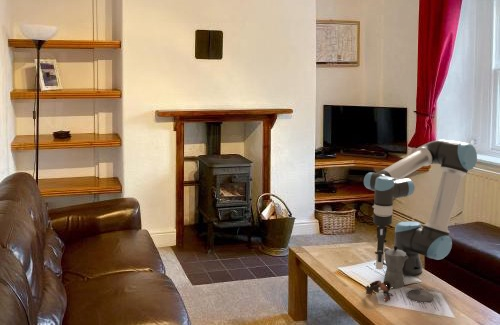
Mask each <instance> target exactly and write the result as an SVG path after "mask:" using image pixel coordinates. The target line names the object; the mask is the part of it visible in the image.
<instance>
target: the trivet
mask: <svg viewBox="0 0 500 325" xmlns="http://www.w3.org/2000/svg"><path fill="white" fill-rule="evenodd" d="M406 297H407V299H409V300H410V299H411V301H413V302H415V301H417V302H416V303H421V302H423V303H424V302H428V303H431V301H432V302H433V301H434V300H435V294H433V293H432V292H430V291H429V290H428V291H427V290H425V289H417V288H415V289H410V290H407V292H406ZM424 304H425V303H424Z"/></svg>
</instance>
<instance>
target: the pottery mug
mask: <svg viewBox="0 0 500 325" xmlns="http://www.w3.org/2000/svg"><path fill="white" fill-rule="evenodd" d="M386 285H387V286H386ZM391 289H392V288H391V284H390V282H388V281H385V282H384V281H383V282H382V281H381V280H375V281H372V282H371V283H369V285H366V286H365V290H366V291H365V294H366V295H370V296H373V293H377V294H380V290H381V291H383V294H385V296H384V297H383V299H384V303H387V302H389V301H390V299H391V295H390V290H391Z"/></svg>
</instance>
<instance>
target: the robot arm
mask: <svg viewBox="0 0 500 325" xmlns="http://www.w3.org/2000/svg"><path fill="white" fill-rule="evenodd" d="M477 160H478V155H477V150H476V148H475V147H474V145H473V144H471V143H468V142H464V141H456V140H449V139H436V140H433V141H430V142H427V143H424V144H422V145H420V146H418V147H417V148H416V149H415V151H414V152H412V153H411V154H409V155H407V156H405V157H404V158H402V159H400V160H398V161H396V162H394V163H393V164H391V165H388V167H386V168H384V169H382V170H380V171H378V172H368V173H366V174H365V176H364V178H363V185H364V187H365V188H366V189H368V190H370V191H374V197H373V198H374V201H373V203H374V204H373V205H372V206H371V207H372V208H373V215H372V217H373V218H372V222H373V224H374V225H378V226H377V227H376V239H377V248H376V251H375V252H374V254H375V255H376V258H375V259H376V260H375V270H384V269H383V268H384V267H383V266H384V265H383V258H384V259H385V252H384V247H385V246H386V245H385V244H386V243H387V239H386V238H387V237H386V236H387V231H388V228H387V226H390V225H392V221H393V212H394V211H393V209H394V199H400V198H406V197H409V196H411V195H413V194H414V192H415V188H416V186H415V182H414V181H413V180H412V179H410V178H409V177H408V178H405V177H407V176H410V175H411V174H412V173H414V172H415V171H417V170H419V169H421V168H423V167H428V166H431V165H433V164H435V165H440V169H441V172H442V174H441V177H440V180H439V184H438V187H437V191H436V194H435V197H434V201H433V204H432V208H431V211H430V214H429V218H428V222H426V223H423V226H422V224H421V222H419V221H411V220H410V221H409V220H408V221H401V222H398V223H396V224H395V229H394V241H393V242H394V245H393V247H394V246H397V249H398V250H402V251H404V252H406V255H407V256H408V259H406V260H405V262H404V266H403V268H402V271H403V274H405V276H416V275H419V274H421V273H423V264H422V261H421V257H420V255H421V256H425V257H427V258H428V259H433V260H437V261H438V260H443V259H444V258H445V257H447V256H448V255H449V254H450V252H451V249H452V246H453V240H452V238H451V236H450V233H451V232H450V230H449V229H448V228H449V224H450V221H451V216H452V215H453V214H452V213H453V209H454V208H455V203H456V200H457V197H458V193H459V189H460V187H461V186H460V185H461V182H462V180H463V179H462V178H463V177H465V176H466V175H467V174H468V172H469V171H470V170H471V171H472V170H473V169H474V167H475V166H476V164H477ZM385 248H386V247H385Z"/></svg>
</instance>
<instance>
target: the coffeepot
mask: <svg viewBox="0 0 500 325" xmlns="http://www.w3.org/2000/svg"><path fill="white" fill-rule="evenodd" d="M406 259H408V256H407V255H406V252H404V251H402V250H398V249H397V246H394V245H393V248H388V247H384V258H383V266H385V267H386V270H385V274H384V278H383V282H385V281H388V282H390V284H391V287H393V288H392V289H401V288H403V287H404V285H405V280H404V278H405V276H404V275H403V271H402V268H403V266H404V262H405V260H406ZM384 260H385V261H384Z"/></svg>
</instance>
